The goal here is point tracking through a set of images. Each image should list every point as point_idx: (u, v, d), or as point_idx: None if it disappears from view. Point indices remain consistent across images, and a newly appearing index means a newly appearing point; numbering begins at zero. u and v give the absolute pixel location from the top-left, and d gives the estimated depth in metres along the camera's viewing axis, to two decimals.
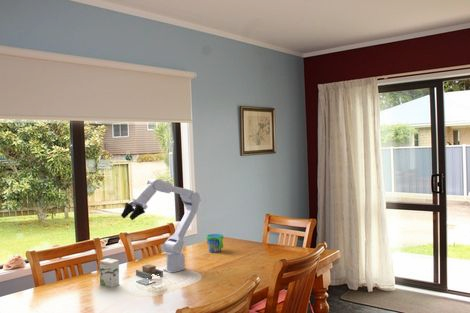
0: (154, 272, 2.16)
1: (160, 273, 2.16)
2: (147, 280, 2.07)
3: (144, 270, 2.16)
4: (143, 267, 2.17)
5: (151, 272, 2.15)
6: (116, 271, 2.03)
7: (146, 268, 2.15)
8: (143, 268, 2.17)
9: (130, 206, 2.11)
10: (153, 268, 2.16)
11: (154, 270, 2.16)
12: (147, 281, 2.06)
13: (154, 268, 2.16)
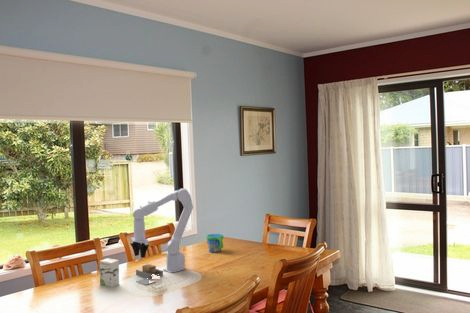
0: (154, 272, 2.16)
1: (160, 273, 2.16)
2: (147, 280, 2.07)
3: (144, 270, 2.16)
4: (143, 267, 2.17)
5: (151, 272, 2.15)
6: (116, 271, 2.03)
7: (146, 268, 2.15)
8: (143, 268, 2.17)
9: (135, 243, 2.24)
10: (153, 268, 2.16)
11: (154, 270, 2.16)
12: (147, 281, 2.06)
13: (154, 268, 2.16)
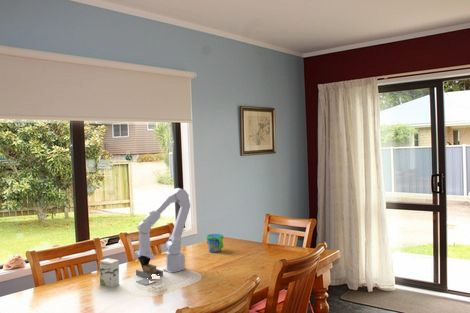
0: (155, 272, 2.16)
1: (160, 273, 2.16)
2: (147, 280, 2.07)
3: (145, 270, 2.16)
4: (144, 267, 2.16)
5: (152, 272, 2.15)
6: (116, 271, 2.03)
7: (147, 268, 2.15)
8: (143, 268, 2.17)
9: None
10: (153, 268, 2.15)
11: (155, 270, 2.16)
12: (147, 281, 2.06)
13: (155, 268, 2.16)
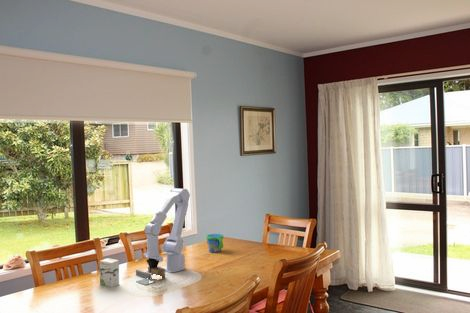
0: (163, 275, 2.11)
1: None
2: (147, 280, 2.07)
3: (153, 273, 2.11)
4: (152, 270, 2.11)
5: (160, 275, 2.09)
6: (116, 271, 2.03)
7: (155, 271, 2.09)
8: (152, 271, 2.11)
9: None
10: (162, 271, 2.10)
11: (163, 273, 2.11)
12: (147, 281, 2.06)
13: (163, 271, 2.11)
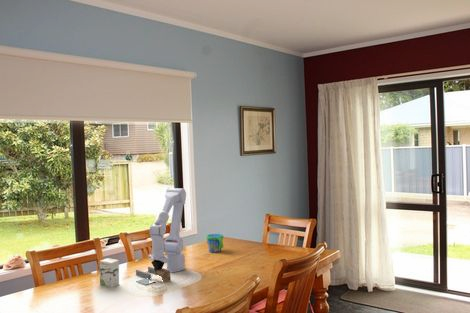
0: (169, 277, 2.08)
1: None
2: (147, 280, 2.07)
3: None
4: (157, 272, 2.08)
5: (166, 277, 2.06)
6: (116, 271, 2.03)
7: (160, 273, 2.06)
8: (157, 273, 2.08)
9: None
10: (167, 273, 2.07)
11: (169, 275, 2.08)
12: (147, 281, 2.06)
13: (169, 273, 2.08)
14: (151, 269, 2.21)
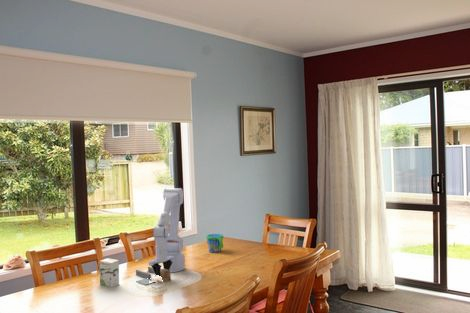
0: (169, 277, 2.08)
1: None
2: (147, 280, 2.07)
3: None
4: None
5: (166, 277, 2.06)
6: (116, 271, 2.03)
7: (161, 273, 2.06)
8: None
9: (165, 262, 2.12)
10: (168, 273, 2.07)
11: (169, 275, 2.08)
12: (147, 281, 2.06)
13: (169, 273, 2.08)
14: (151, 269, 2.21)
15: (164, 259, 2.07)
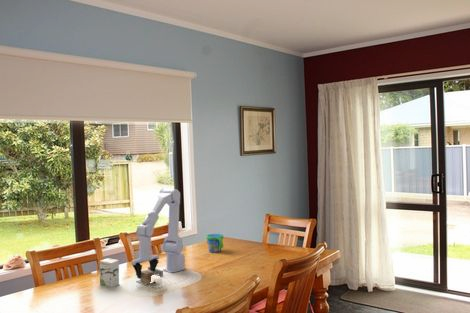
0: None
1: (160, 273, 2.16)
2: None
3: (142, 276, 2.04)
4: (141, 273, 2.05)
5: (149, 278, 2.03)
6: (116, 271, 2.03)
7: (144, 274, 2.03)
8: (141, 274, 2.05)
9: (151, 261, 2.09)
10: (151, 274, 2.04)
11: None
12: None
13: (153, 274, 2.04)
14: None
15: (147, 258, 2.04)
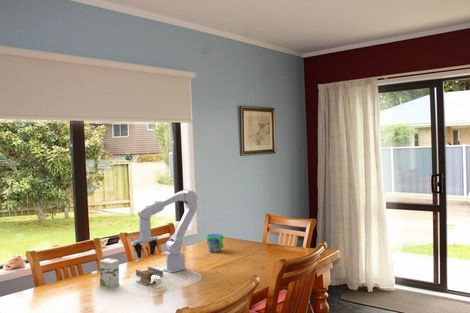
0: None
1: (160, 273, 2.16)
2: None
3: (142, 276, 2.04)
4: (141, 273, 2.05)
5: (149, 278, 2.03)
6: (116, 271, 2.03)
7: (144, 274, 2.03)
8: (141, 274, 2.05)
9: (150, 242, 2.22)
10: (151, 274, 2.04)
11: None
12: None
13: (153, 274, 2.04)
14: (151, 269, 2.21)
15: (147, 239, 2.16)
